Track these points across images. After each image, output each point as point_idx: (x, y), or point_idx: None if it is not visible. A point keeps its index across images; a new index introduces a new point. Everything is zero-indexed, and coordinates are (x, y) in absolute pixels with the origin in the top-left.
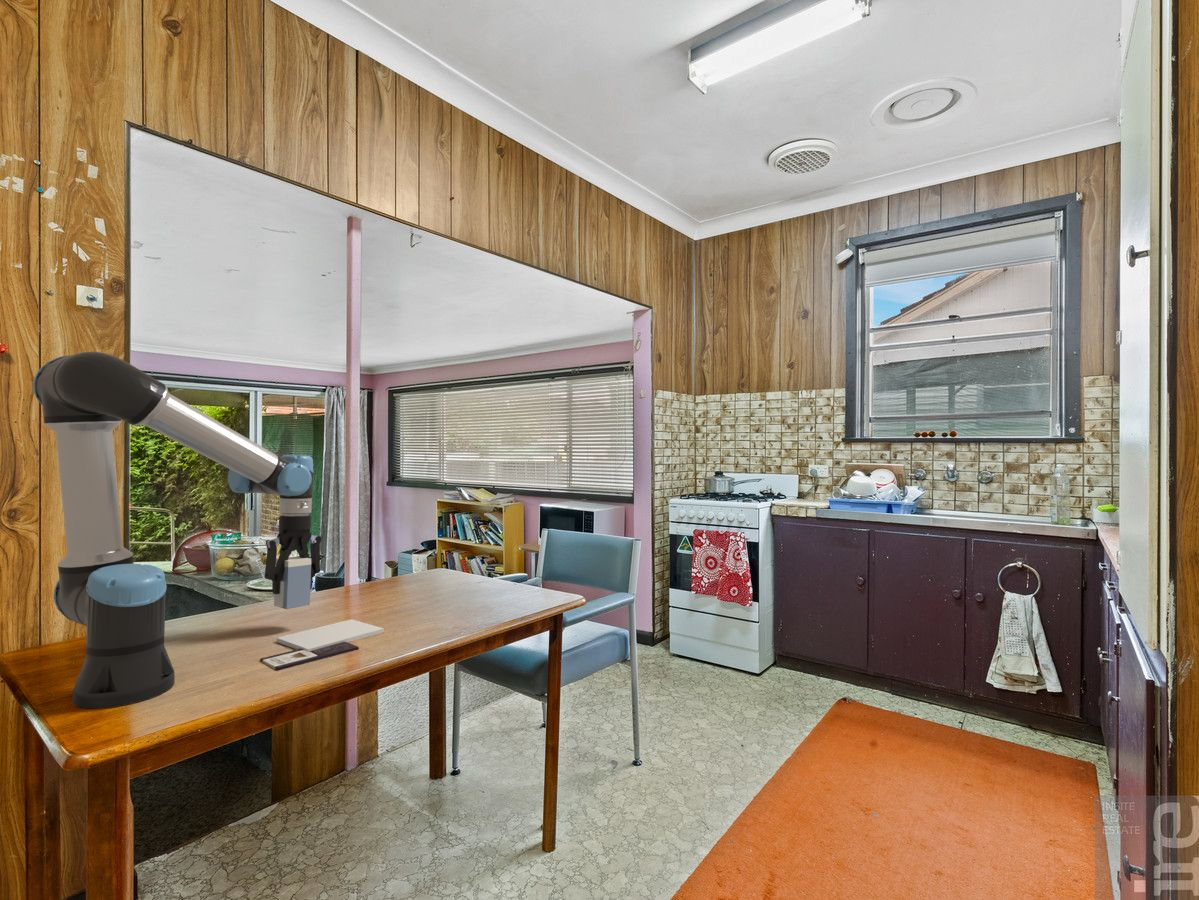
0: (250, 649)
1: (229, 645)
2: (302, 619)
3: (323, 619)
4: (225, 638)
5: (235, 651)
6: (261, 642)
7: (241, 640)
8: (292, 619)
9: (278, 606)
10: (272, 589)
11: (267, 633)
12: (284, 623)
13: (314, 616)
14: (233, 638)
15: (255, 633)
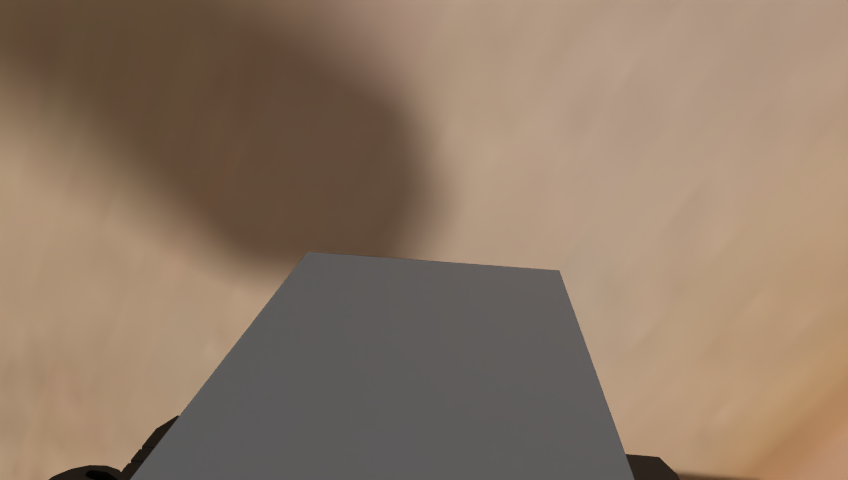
0: (83, 431)
1: (23, 265)
2: (671, 98)
3: (755, 247)
4: (52, 92)
5: (14, 395)
6: (176, 370)
7: (110, 230)
8: (628, 21)
9: None
10: (141, 453)
11: (290, 227)
12: (511, 84)
13: (795, 98)
14: (89, 140)
15: (237, 155)
